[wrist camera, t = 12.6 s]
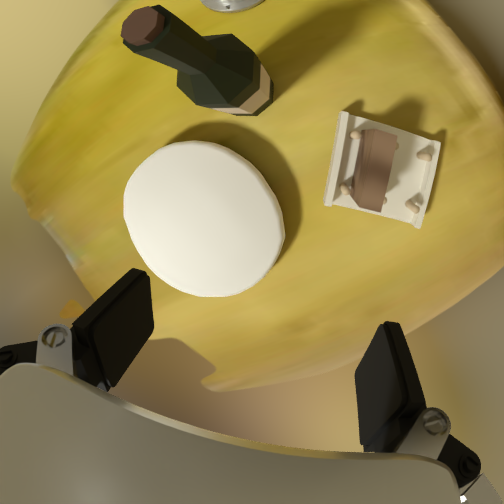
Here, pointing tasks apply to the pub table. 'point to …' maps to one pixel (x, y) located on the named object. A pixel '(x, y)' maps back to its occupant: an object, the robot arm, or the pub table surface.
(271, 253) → the plate
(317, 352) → the pub table surface
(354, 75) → the pub table surface
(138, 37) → the wine bottle
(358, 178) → the walnut board
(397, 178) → the rack
